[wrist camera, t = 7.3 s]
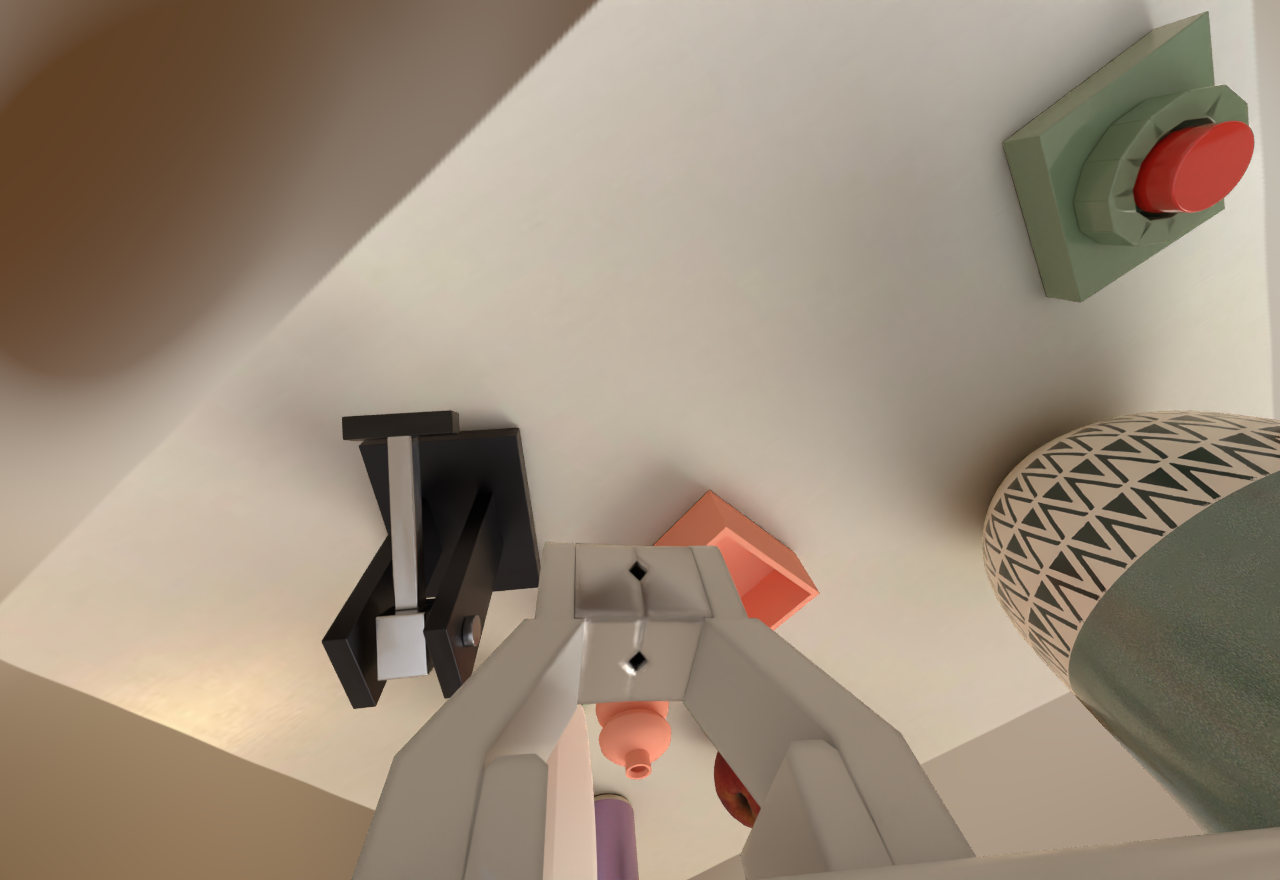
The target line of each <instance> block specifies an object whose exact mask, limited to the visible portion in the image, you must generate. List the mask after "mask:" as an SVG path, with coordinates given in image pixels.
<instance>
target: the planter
mask: <svg viewBox="0 0 1280 880" xmlns="http://www.w3.org/2000/svg"><path fill="white" fill-rule="evenodd" d="M982 548H983V559H984V565H985V569H986V573H987V577H988V580H989V582H990V584H991V587H992V589H993V591H994V593H995V595H996V597H997V599H998V601H999V602H1000V604H1001V606H1002V608H1003V609H1004V611H1005V613H1006V614H1007V616H1008V617H1009V619H1010V620H1011V622H1012V623H1013V625H1014V626H1015V628H1016V629H1017V630H1018V632H1019V633H1020V635H1021V636H1022V637H1023V638H1024V640H1025V641H1026V642H1027V643H1028V644H1029V646H1030V647H1031V648H1032V649H1033V650H1034V651H1035V653H1036V654H1037V655H1038V656H1039V657H1040V659H1041V660H1042V661H1043V662H1044V663H1045V664H1046V665H1047V666H1048V667H1049V668H1050V669H1051V670H1052V671H1053V672H1054V673H1055V675H1056V676H1057V677H1058V678H1059V679H1060V680H1061V681H1062V682H1063V683H1064V684H1065V685H1066V686H1067V687H1068V689H1069V690H1070V691H1071V692H1072V693H1073V694H1074V695H1075V696H1076V697H1077V698H1078V699H1079V700H1080V701H1081V703H1082V704H1083V705H1084V706H1085V707H1086V708H1087V709H1088V710H1089V711H1090V712H1091V713H1092V714H1093V716H1094V717H1095V718H1096V719H1097V720H1098V721H1099V722H1100V723H1101V724H1102V725H1103V726H1104V727H1105V729H1107V731H1109V733H1110V734H1111V735H1112V736H1113V737H1114V738H1115V739H1116V740H1117V741H1118V742H1119V743H1120V744H1121V745H1122V746H1123V747H1124V748H1125V749H1126V751H1128V753H1129V754H1130V755H1131V756H1132V757H1133V758H1134V759H1135V760H1136V761H1137V762H1138V763H1139V764H1140V765H1141V766H1142V767H1143V768H1144V769H1145V770H1146V771H1147V773H1148V774H1149V775H1150V776H1151V777H1152V778H1153V779H1154V780H1155V781H1156V782H1157V783H1158V784H1159V785H1160V786H1161V787H1162V788H1163V790H1164V791H1165V792H1166V793H1167V794H1168V795H1169V796H1170V797H1171V798H1172V799H1173V800H1174V801H1175V803H1176V804H1177V805H1178V806H1179V807H1180V808H1181V809H1182V810H1183V811H1184V812H1185V813H1186V814H1187V815H1188V816H1189V818H1190V819H1191V820H1192V821H1193V822H1194V823H1195V824H1196V825H1197V826H1198V827H1199V829H1200V830H1201V831H1202V832H1203V833H1204V834H1214V833H1224V832H1234V831H1244V830H1254V829H1264V828H1275V827H1280V421H1279V420H1273V419H1267V418H1259V417H1252V416H1244V415H1236V414H1227V413H1213V412H1200V411H1158V412H1148V413H1139V414H1132V415H1127V416H1122V417H1117V418H1112V419H1108V420H1104V421H1100V422H1097V423H1094V424H1090V425H1087V426H1084V427H1081V428H1079V429H1076V430H1074V431H1071V432H1069V433H1066V434H1064V435H1062V436H1060V437H1058V438H1056V439H1054V440H1052V441H1050V442H1048V443H1047V444H1045V445H1043V446H1041V447H1040V448H1038V449H1037V450H1035V451H1034V452H1032V453H1031V454H1030V455H1028V456H1027V457H1026V458H1024V459H1023V460H1022V461H1021V462H1020V463H1019V464H1018V465H1017V466H1016V467H1015V468H1014V469H1013V470H1012V471H1011V472H1010V473H1009V474H1008V475H1007V476H1006V478H1005V479H1004V480H1003V482H1002V483H1001V484H1000V486H999V487H998V489H997V491H996V493H995V495H994V497H993V499H992V501H991V503H990V506H989V508H988V511H987V515H986V519H985V523H984V528H983V541H982Z"/></svg>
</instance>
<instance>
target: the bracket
mask: <svg viewBox="0 0 1280 880" xmlns="http://www.w3.org/2000/svg"><path fill="white" fill-rule="evenodd" d="M418 438H419V460H420V481H421V503H422V524H423V546H424V568H425V589H426V598H430V597H436V599H435V601H434V604H433V606H432V609H431V611H430V614H429V616H428V619H427V621H426V624H425V626H424V629H423V635H424V638H425V641H426V644H427V647H428V650H429V653H430V656H431V659H432V662H433V665H434V668H435V671H436V674H437V677H438V680H439V683H440V686H441V689H442V692H443V695H444V698H450V697H451V696H452V695H453V694H454V693H455V692H456V691H457V690H458V689H459V688H460V687H461V686H462V685H463V684H464V683H465V682H466V680H467V679H468V678H469V677H470V676H471V675H472V671H473V667H474V663H475V659H476V655H477V651H478V647H479V643H480V639H481V635H482V631H483V627H484V623H485V619H486V615H487V611H488V607H489V603H490V599H491V595H492V592H494V591H505V590H515V589H526V588H537V587H538V586H539V578H540V569H541V567H540V560H539V554H538V547H537V541H536V534H535V528H534V521H533V515H532V508H531V502H530V495H529V489H528V482H527V476H526V469H525V463H524V456H523V450H522V443H521V437H520V430H519V428H510V429H494V430H478V431H462V432H460V433H459V435H445V436H430V437H418ZM359 448H360V451H361V454H362V457H363V460H364V463H365V466H366V469H367V472H368V475H369V478H370V481H371V484H372V487H373V490H374V493H375V496H376V499H377V502H378V505H379V508H380V511H381V514H382V517H383V520H384V523H385V526H386V529H387V532H388V536H387V537H386V539H385V541H384V542H383V544H382V545H381V547H380V549H379V550H378V552H377V553H376V555H375V557H374V558H373V560H372V561H371V563H370V565H369V566H368V568H367V569H366V571H365V573H364V574H363V576H362V577H361V579H360V581H359V582H358V584H357V585H356V587H355V589H354V590H353V592H352V593H351V595H350V597H349V598H348V600H347V601H346V603H345V605H344V606H343V608H342V609H341V611H340V613H339V614H338V616H337V617H336V619H335V621H334V622H333V624H332V625H331V627H330V629H329V630H328V632H327V633H326V635H325V637H324V638H323V640H322V644H323V646H324V648H325V650H326V652H327V654H328V656H329V658H330V661H331V663H332V665H333V667H334V669H335V671H336V673H337V675H338V677H339V679H340V682H341V684H342V686H343V688H344V690H345V692H346V694H347V696H348V698H349V701H350V703H351V705H352V707H353V709H357V708H366V707H375V706H376V705H377V702H378V700H379V698H380V695H381V693H382V691H383V688H384V686H385V684H386V682H387V680H381V681H378V680H377V663H376V638H375V617H377V616H378V615H380V614H381V613H383V612H384V611H386V610H387V609H389V608H390V607H392V606H393V605H394V583H393V560H392V537H391V513H390V490H389V467H388V443H387V439H382V440H367V441H363V442H362V443H361V444H360V445H359Z"/></svg>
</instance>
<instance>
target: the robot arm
mask: <svg viewBox="0 0 1280 880" xmlns="http://www.w3.org/2000/svg"><path fill="white" fill-rule="evenodd" d="M624 701H684V703H683V704H684V705H685V707H686V708H687V709H688V711H689V712H690V713H691V715H692V716H693V717H694V719H695V720H696V722H697V723H698V724H699V726H700V727H701V728H702V730H703V731H704V732H705V734H706V735H707V736H708V738H709V739H710V740H711V742H712V743H713V744H714V746H715V747H716V748H717V750H718V751H719V752H720V754H721V755H722V756H723V758H724V759H725V760H726V762H727V763H728V764H729V766H730V767H731V768H732V770H733V771H734V773H735V774H736V775H737V777H738V778H739V779H740V781H741V782H742V783H743V785H744V786H745V787H746V789H747V790H748V791H749V793H750V794H751V795H752V797H753V798H754V799H755V801H756V802H757V803H758V805H759V806H760V807H761V810H760V812H759V814H758V816H757V819H756V821H755V823H754V825H753V828H752V830H751V832H750V834H749V837H748V839H747V841H746V843H745V846H744V848H743V850H742V852H741V855H740V856H741V861H742V865H743V869H744V873H745V878H746V880H1280V827H1275V828H1264V829H1254V830H1244V831H1234V832H1224V833H1214V834H1204V835H1195V836H1184V837H1174V838H1164V839H1154V840H1145V841H1134V842H1124V843H1114V844H1103V845H1093V846H1083V847H1074V848H1063V849H1053V850H1043V851H1034V852H1023V853H1013V854H1003V855H993V856H983V857H976V855H975V854H974V852H973V850H972V849H971V847H970V846H969V844H968V842H967V841H966V839H965V837H964V836H963V834H962V832H961V831H960V829H959V827H958V826H957V824H956V823H955V821H954V819H953V818H952V816H951V815H950V813H949V811H948V809H947V808H946V806H945V805H944V803H943V802H942V800H941V798H940V797H939V795H938V793H937V792H936V790H935V788H934V787H933V785H932V783H931V782H930V780H929V778H928V777H927V775H926V774H925V772H924V771H923V769H922V767H921V765H920V764H919V762H918V760H917V759H916V757H915V756H914V754H913V752H912V751H911V749H910V747H909V746H908V744H907V742H906V741H905V739H904V738H903V736H902V734H901V733H900V732H899V731H897V730H896V729H895V728H894V727H892V726H891V725H890V724H889V723H887V722H886V721H885V720H884V719H883V718H881V717H880V716H879V715H878V714H876V713H875V712H874V711H873V710H871V709H870V708H869V707H868V706H866V705H865V704H864V703H863V702H861V701H860V700H859V699H858V698H856V697H855V696H854V695H853V694H851V693H850V692H849V691H848V690H846V689H845V688H844V687H843V686H841V685H840V684H839V683H838V682H836V681H835V680H834V679H833V678H831V677H830V676H829V675H828V674H827V673H825V672H824V671H823V670H822V669H820V668H819V667H818V666H817V665H815V664H814V663H813V662H812V661H810V660H809V659H808V658H807V657H805V656H804V655H803V654H802V653H800V652H799V651H798V650H797V649H795V648H794V647H793V646H792V645H790V644H789V643H788V642H787V641H785V640H784V639H783V638H782V637H780V636H779V635H778V634H777V633H775V632H774V631H773V630H772V629H770V628H769V627H768V626H767V625H766V624H764V623H763V622H762V621H761V620H759V619H758V618H749V617H748V615H747V613H746V610H745V608H744V606H743V603H742V601H741V598H740V596H739V594H738V591H737V589H736V587H735V584H734V582H733V579H732V577H731V575H730V572H729V570H728V568H727V565H726V563H725V560H724V558H723V556H722V553H721V551H720V549H719V548H718V547H717V546H688V547H686V546H633V545H611V544H588V543H576V544H574V543H554V542H545V544H544V546H543V552H542V560H541V569H540V578H539V586H538V595H537V604H536V612H535V619H524V620H523V622H522V623H521V624H520V625H519V626H518V627H517V628H516V629H515V630H514V631H513V632H512V633H511V634H510V635H509V636H508V637H507V638H506V639H505V640H504V642H503V643H502V644H501V645H500V646H499V647H498V648H497V649H496V650H495V651H494V652H493V653H492V654H491V655H490V656H489V657H488V658H487V659H486V660H485V662H484V663H483V664H482V665H481V666H480V667H479V668H478V669H477V670H476V671H475V672H474V673H473V674H472V675H471V676H470V677H469V678H468V679H467V680H466V682H465V683H464V684H463V685H462V686H461V687H460V688H459V689H458V690H457V691H456V692H455V693H454V694H453V695H452V696H451V697H450V698H449V699H448V700H447V702H446V703H445V704H444V705H443V706H442V707H441V708H440V709H439V710H438V711H437V712H436V713H435V714H434V715H433V716H432V717H431V718H430V719H429V720H428V722H427V723H426V724H425V725H424V726H423V727H422V728H421V729H420V730H419V731H418V732H417V733H416V734H415V735H414V736H413V737H412V738H411V739H410V740H409V742H408V743H407V744H406V745H405V746H404V747H403V748H402V749H401V750H400V751H399V752H398V753H397V754H396V755H395V756H394V759H393V762H392V764H391V767H390V770H389V773H388V776H387V779H386V782H385V785H384V787H383V790H382V793H381V796H380V799H379V802H378V805H377V807H376V810H375V813H374V816H373V819H372V822H371V825H370V828H369V830H368V834H367V836H366V839H365V842H364V845H363V848H362V850H361V853H360V856H359V859H358V862H357V865H356V868H355V870H354V873H353V876H352V879H351V880H543V865H544V845H545V825H546V805H547V785H548V764H547V763H546V762H547V760H548V758H549V756H550V755H551V753H552V751H553V749H554V748H555V746H556V744H557V742H558V740H559V739H560V737H561V735H562V733H563V732H564V730H565V728H566V726H567V725H568V723H569V721H570V719H571V718H572V716H573V714H574V712H575V711H576V709H577V704H593V703H609V702H624Z"/></svg>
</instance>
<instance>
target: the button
mask: <svg viewBox="0 0 1280 880" xmlns="http://www.w3.org/2000/svg"><path fill="white" fill-rule="evenodd" d="M1253 150H1254V135H1253V132H1252V130H1251V128H1250V127H1249V126H1248V125H1247V124H1245V123H1244V122H1241V121H1236V120H1230V121H1223V122H1217V123H1210V124H1204V125H1197V126H1190V127H1185V128H1181V129H1178V130H1176V131H1174V132H1172V133H1170V134H1168V135H1167V136H1165V137H1164V138H1163V139H1161V140H1160V141H1159V142H1158V143H1157V144H1156V145H1155V146H1154V147H1153V148H1152V149H1151V151H1150V152H1149V153H1148V155H1147V156H1146V158H1145V159H1144V160H1143V162H1142V163H1141V167H1140V170H1139V173H1138V176H1137V179H1136V182H1135V185H1134V188H1133V194H1134V200H1135V204H1136V205H1137V207H1138V208H1139V209H1141V210H1142V211H1144V212H1147V213H1195V212H1199V211H1202V210H1205V209H1207V208H1209V207H1211V206H1213V205H1215V204H1216V203H1218V202H1219V201H1221V200H1222V199H1223V198H1224V197H1225V196H1227V195H1228V194H1229V193H1230V192H1231V191H1232V189H1233V188H1234V187H1235V186H1236V185H1237V184H1238V182H1239V181H1240V179H1241V178H1242V176H1243V175H1244V173H1245V171H1246V170H1247V168H1248V165H1249V163H1250V161H1251V158H1252V154H1253Z"/></svg>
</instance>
